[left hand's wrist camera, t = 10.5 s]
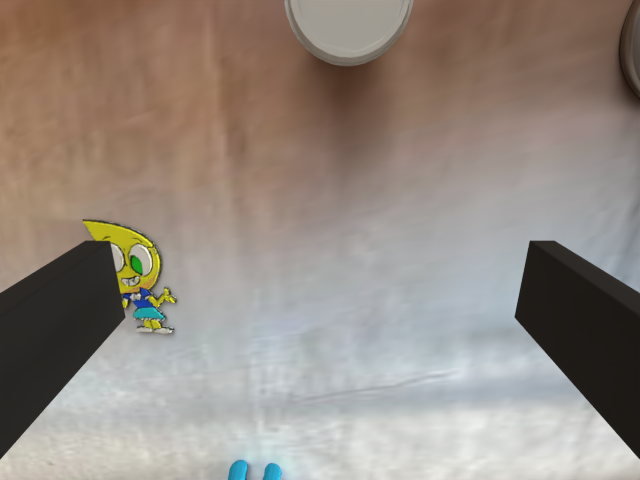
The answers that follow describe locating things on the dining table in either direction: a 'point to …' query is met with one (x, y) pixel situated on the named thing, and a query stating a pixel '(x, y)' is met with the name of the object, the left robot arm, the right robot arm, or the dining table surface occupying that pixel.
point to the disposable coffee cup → (348, 27)
